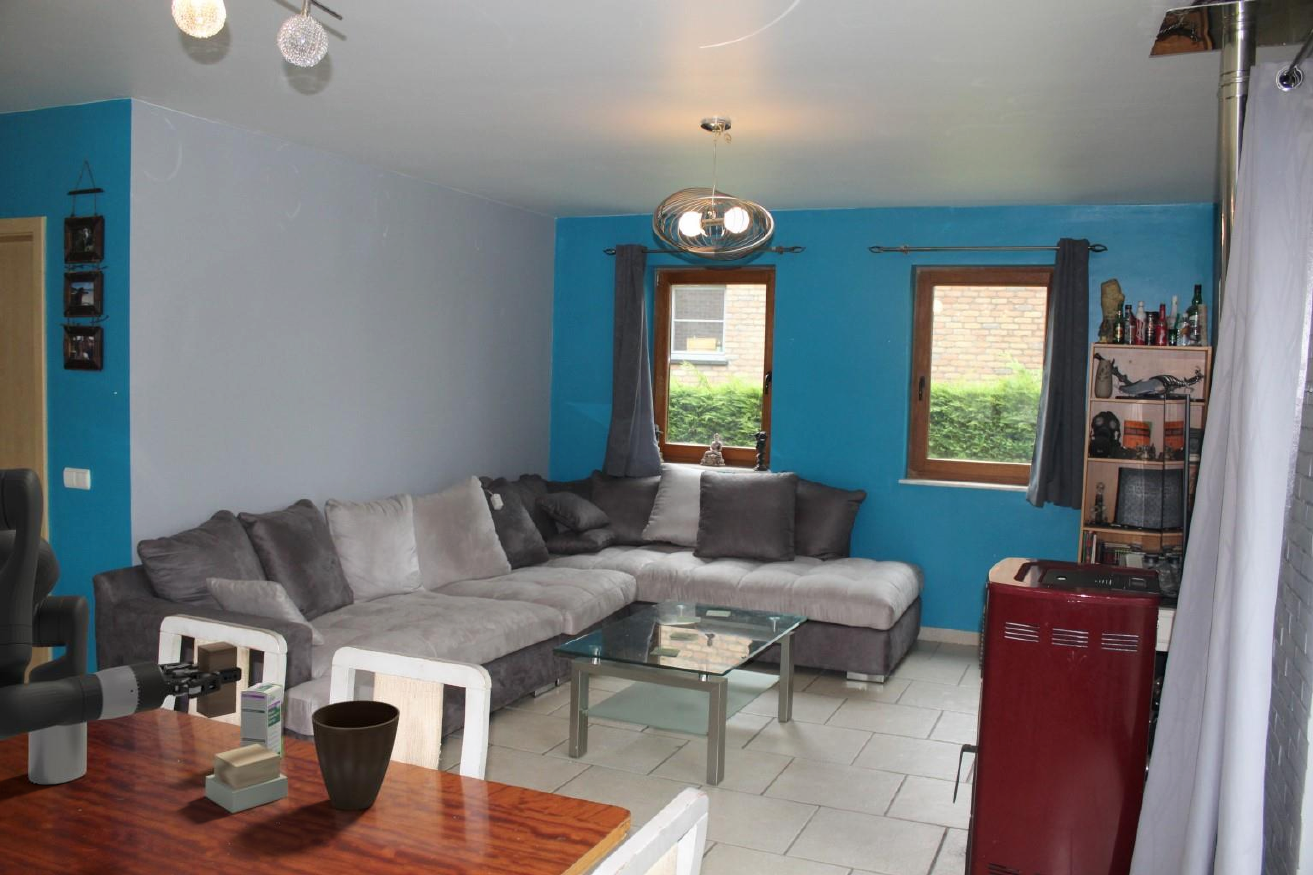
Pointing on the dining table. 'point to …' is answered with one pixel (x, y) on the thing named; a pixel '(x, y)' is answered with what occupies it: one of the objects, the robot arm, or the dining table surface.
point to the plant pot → (354, 749)
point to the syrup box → (262, 716)
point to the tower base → (245, 793)
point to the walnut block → (211, 660)
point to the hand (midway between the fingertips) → (232, 669)
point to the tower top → (246, 766)
